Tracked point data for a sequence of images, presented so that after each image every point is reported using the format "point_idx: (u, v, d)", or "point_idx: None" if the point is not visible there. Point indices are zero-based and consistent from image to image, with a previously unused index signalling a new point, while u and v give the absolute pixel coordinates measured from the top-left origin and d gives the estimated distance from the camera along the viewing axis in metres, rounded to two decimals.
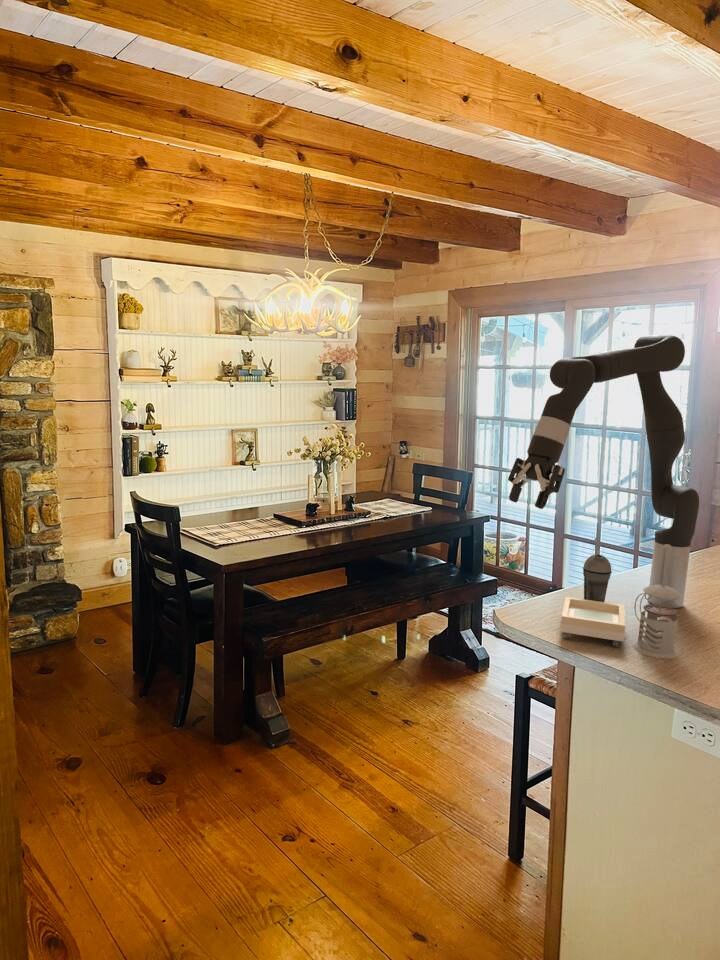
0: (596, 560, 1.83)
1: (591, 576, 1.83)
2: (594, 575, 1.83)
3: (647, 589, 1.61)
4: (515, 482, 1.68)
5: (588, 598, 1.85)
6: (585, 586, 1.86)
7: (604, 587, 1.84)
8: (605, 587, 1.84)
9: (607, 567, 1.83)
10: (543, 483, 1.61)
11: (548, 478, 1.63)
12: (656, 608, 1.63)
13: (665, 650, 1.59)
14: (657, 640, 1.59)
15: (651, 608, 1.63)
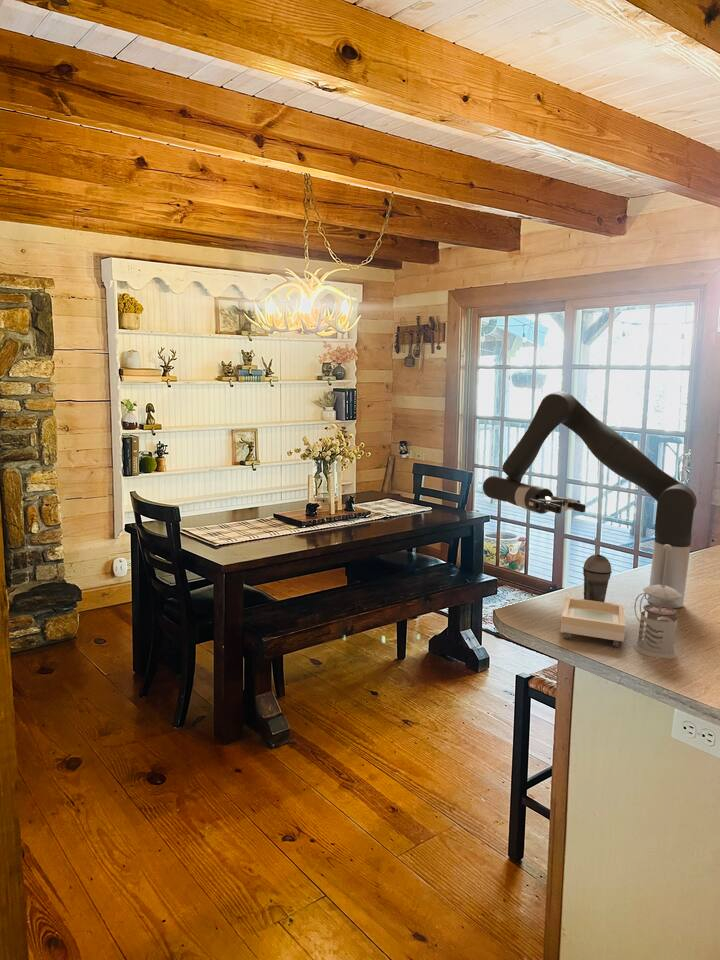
0: (596, 560, 1.83)
1: (591, 576, 1.83)
2: (594, 575, 1.83)
3: (647, 589, 1.61)
4: (572, 509, 1.99)
5: (588, 598, 1.85)
6: (585, 586, 1.86)
7: (604, 587, 1.84)
8: (605, 587, 1.84)
9: (607, 567, 1.83)
10: None
11: None
12: (656, 608, 1.63)
13: (665, 650, 1.59)
14: (657, 640, 1.59)
15: (651, 608, 1.63)
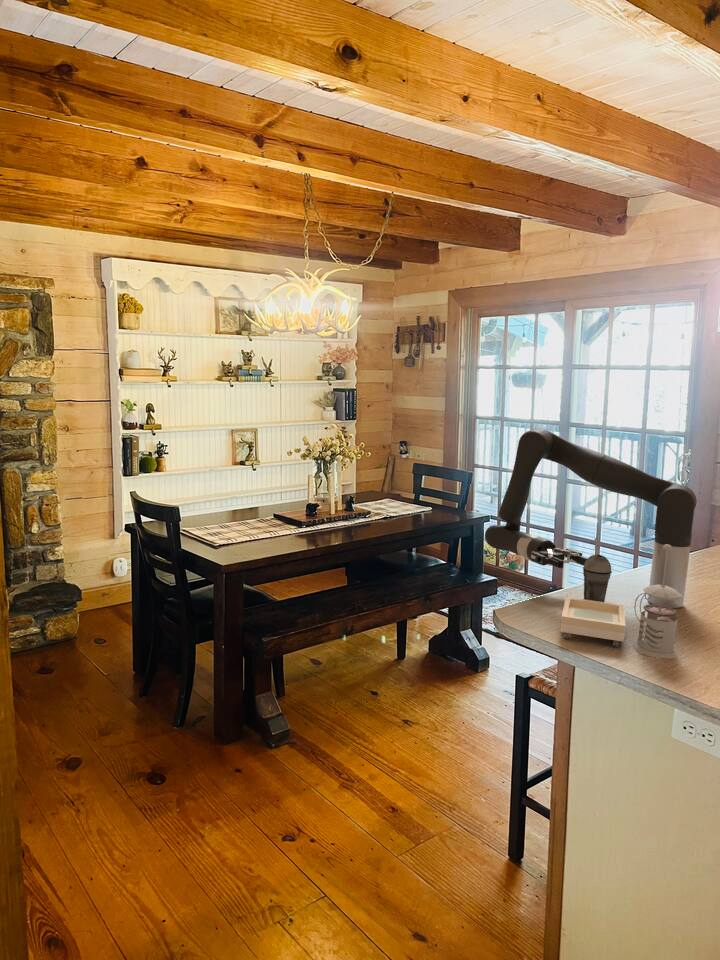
0: (596, 560, 1.83)
1: (591, 576, 1.83)
2: (594, 575, 1.83)
3: (647, 589, 1.61)
4: (575, 562, 1.99)
5: (588, 598, 1.85)
6: (585, 586, 1.86)
7: (604, 587, 1.84)
8: (605, 587, 1.84)
9: (607, 567, 1.83)
10: None
11: None
12: (656, 608, 1.63)
13: (665, 650, 1.59)
14: (657, 640, 1.59)
15: (651, 608, 1.63)
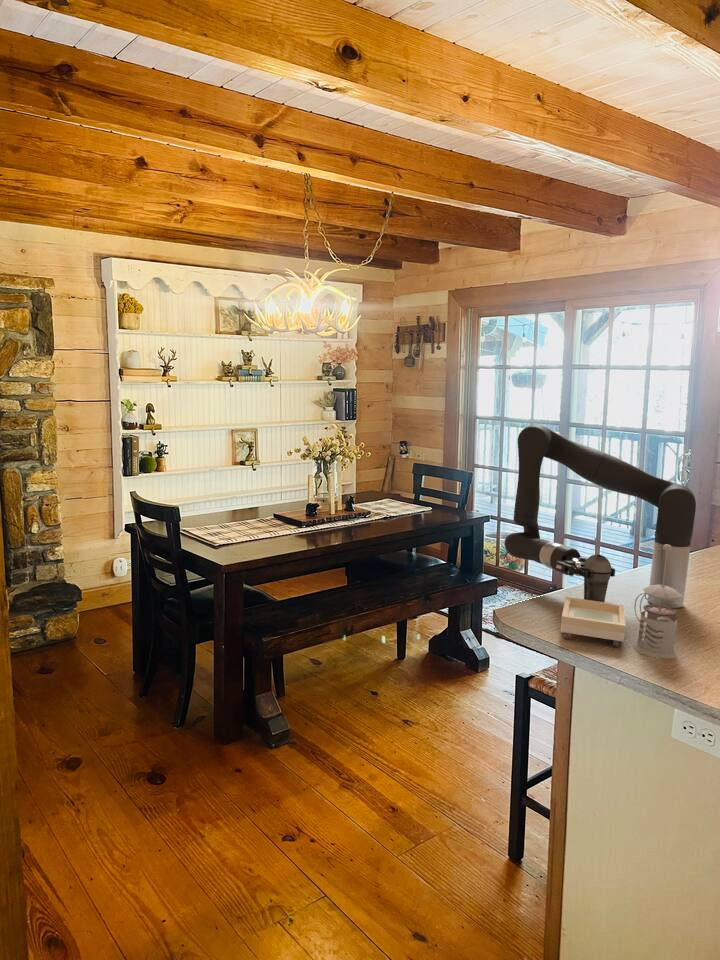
0: (596, 560, 1.83)
1: None
2: (594, 575, 1.83)
3: (647, 589, 1.61)
4: None
5: (588, 598, 1.85)
6: (585, 586, 1.86)
7: (604, 587, 1.84)
8: (605, 587, 1.84)
9: (607, 567, 1.83)
10: None
11: None
12: (656, 608, 1.63)
13: (665, 650, 1.59)
14: (657, 640, 1.59)
15: (651, 608, 1.63)
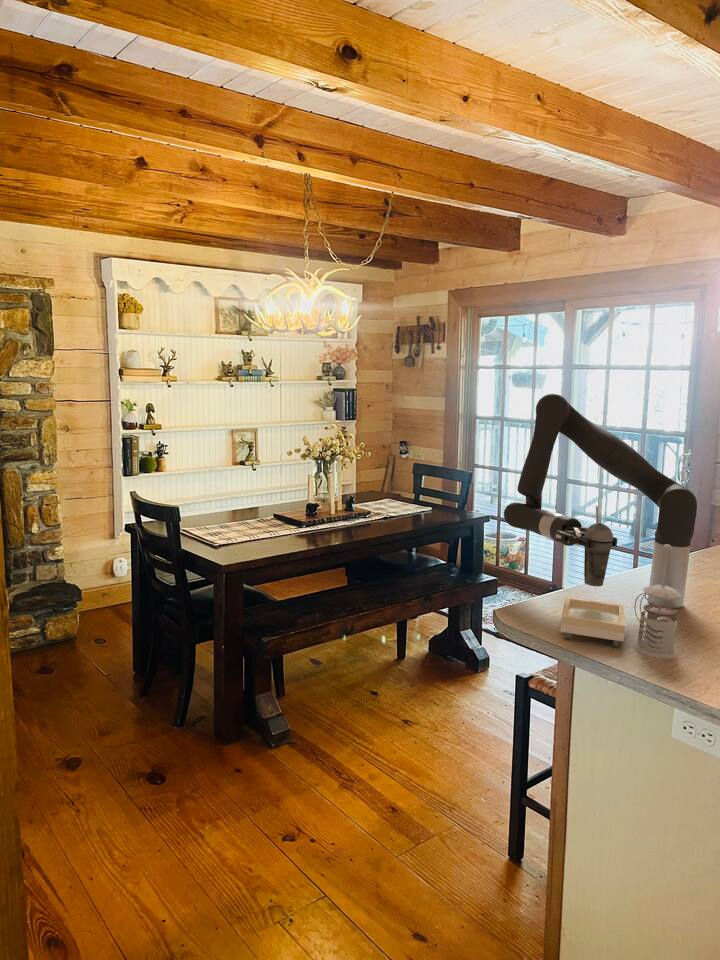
0: (597, 529, 1.75)
1: None
2: (595, 544, 1.75)
3: (647, 589, 1.61)
4: None
5: (589, 568, 1.77)
6: (585, 556, 1.78)
7: (605, 557, 1.76)
8: (606, 557, 1.76)
9: (609, 536, 1.75)
10: None
11: None
12: (656, 608, 1.63)
13: (665, 650, 1.59)
14: (657, 640, 1.59)
15: (651, 608, 1.63)
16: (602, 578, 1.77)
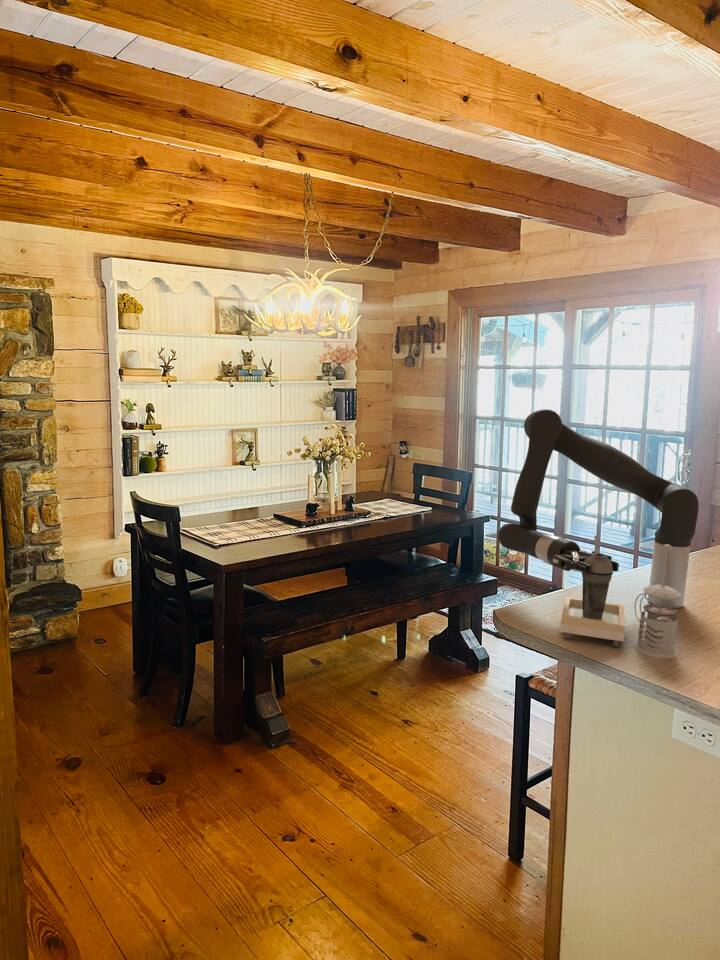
0: (595, 560, 1.67)
1: (590, 577, 1.67)
2: (594, 576, 1.66)
3: (647, 589, 1.61)
4: None
5: (587, 601, 1.69)
6: (584, 588, 1.69)
7: (605, 589, 1.67)
8: (606, 589, 1.68)
9: (608, 567, 1.66)
10: None
11: None
12: (656, 608, 1.63)
13: (665, 650, 1.59)
14: (657, 640, 1.59)
15: (651, 608, 1.63)
16: (601, 611, 1.69)
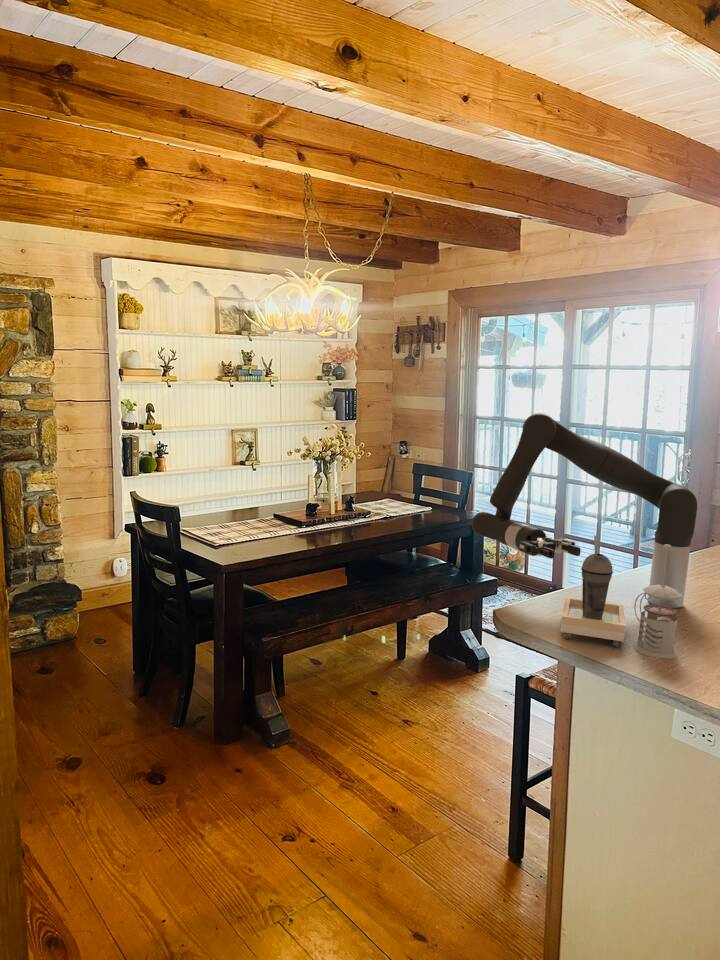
0: (595, 560, 1.67)
1: (590, 577, 1.67)
2: (593, 576, 1.66)
3: (647, 589, 1.61)
4: (567, 552, 1.85)
5: (587, 601, 1.69)
6: (584, 588, 1.70)
7: (604, 589, 1.67)
8: (606, 589, 1.68)
9: (608, 567, 1.66)
10: None
11: None
12: (656, 608, 1.63)
13: (665, 650, 1.59)
14: (657, 640, 1.59)
15: (651, 608, 1.63)
16: (601, 611, 1.69)
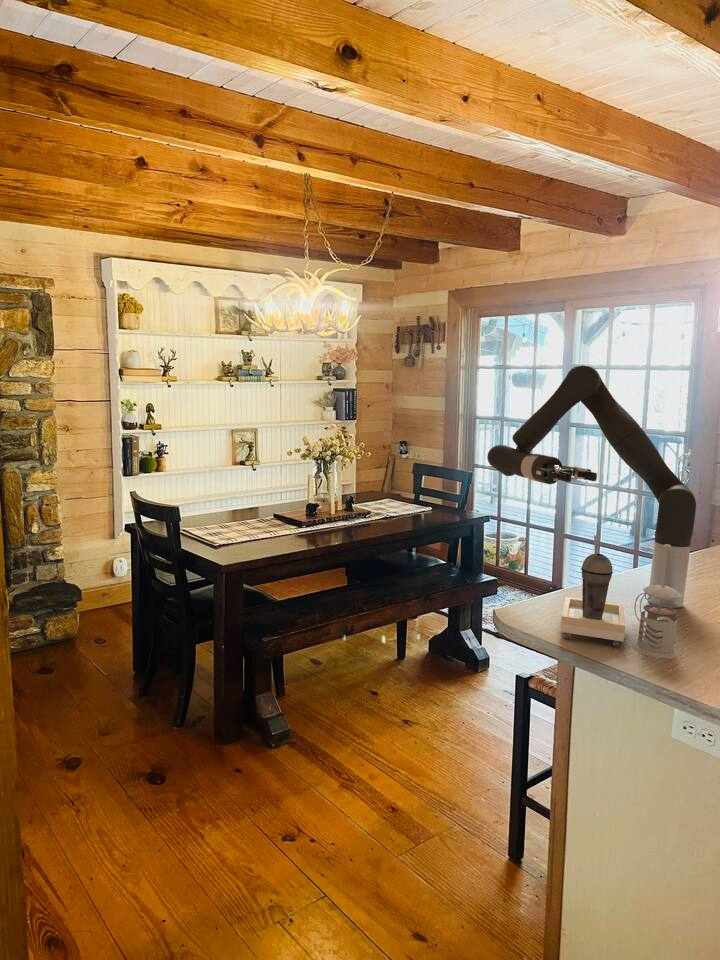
0: (595, 560, 1.67)
1: (590, 577, 1.67)
2: (593, 576, 1.66)
3: (647, 589, 1.61)
4: (583, 479, 1.87)
5: (587, 601, 1.69)
6: (584, 588, 1.70)
7: (604, 589, 1.67)
8: (606, 589, 1.68)
9: (608, 567, 1.66)
10: None
11: None
12: (656, 608, 1.63)
13: (665, 650, 1.59)
14: (657, 640, 1.59)
15: (651, 608, 1.63)
16: (601, 611, 1.69)
